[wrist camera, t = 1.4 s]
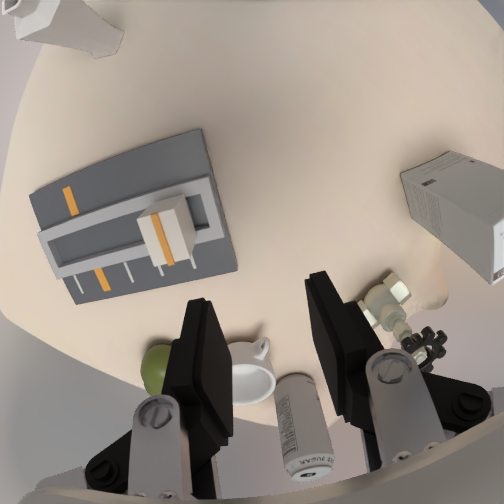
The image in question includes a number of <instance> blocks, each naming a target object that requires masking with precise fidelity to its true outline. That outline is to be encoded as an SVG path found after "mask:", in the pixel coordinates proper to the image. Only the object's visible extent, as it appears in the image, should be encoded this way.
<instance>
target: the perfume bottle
mask: <svg viewBox="0 0 504 504" xmlns="http://www.w3.org/2000/svg"><path fill="white" fill-rule="evenodd" d="M5 14H10V15H13V16H14V21H15V32H16V39H19V40H26V41H34V42H40V43H46V44H52V45H58V46H63V47H68V48H73V49H78V50H82V51H87V52H90V54H91V55H92V56H93V58H100V57H104V56H109V55H113V54H115V53H116V52H117V50H118V47H119V45H120V42H121V40H122V37H123V35H124V31H122V30H120V29H118V28H116V27H114V26H112V25H109V24H108V23H107V22H106V21H105V20H104V19H103V18H102V17H100V16H99V15H98V14H97V13H96V12H95V11H94V10H93V9H92V8H90V7H89V6H88V5H87V4H86V3H85V2H84V1H83V0H3V1H2V15H5Z"/></svg>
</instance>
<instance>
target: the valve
mask: <svg viewBox="0 0 504 504" xmlns="http://www.w3.org/2000/svg"><path fill="white" fill-rule="evenodd" d="M383 282H384V283H383V284H379V285H376V286H374V287H373V288H371V289H370V290H369V291H368V293H367V294H366V296H365V298H364V301H362V300H360V301H359V302H358V305H359V307H360V308H361V310H362V312H363V313H364V315H365V317H366V318H367V320H368V322H369V323H370V325H371V327H372V328H373V329H374V328H376V327H377V326H378V325H379V324H381V326H382V327H383V329H384V330H385V331H388V332H391V331H393V335H394V337H395V338H396V340H397V342H400V343H401V349H402V350H404V351H406V352H408V353H409V354H411V355H412V356H413V358H414V359H415V360H416V362H417V364H419V363H421V362H422V361H423V360H424V359H425V358H426V355H427V358H426V359H425V360H424V361H423V362H422V363H421V364H419V365H418V367H419V369H420V371H424V372H427V373H430V372H431V371H432V370H433V368H434V367H433V365H432V362H433V361H434V360H435V359H436V358H442V357H443V356H444V355H445V354H446V350H445V348H444V347H443V346H442V345H443V344H444V343H445V342H446V341H447V336H446V334H445V333H444V332H443V331H442V330H440V331H437V334H438V336H437V338H435V339H434V337H435V333H434V331H433V330H432V329H431V328H430V327H429V326H427V327H425V328H424V329H423V330H422V331H421V333H422V335H423V338H421V336H420V335H419V334H418V333H414V334H412V329H411V328H410V326H409V325H408V324H407V323H406V322H405V320H406V313H405V311H404V310H403V309H402V307H401V306H399V305H400V304H401V305H402V304H404V303H405V302H406V301H407V300H408V299H409V298H410V297H411V293H410V291H409V290H408V289H407V287H406V286H405V285H404V284H403V282H402V281H401V280H400V279H399V278H398V276H397V275H396V274H395V273H393V272H392V273H391V274H390V275H389V276H388V277H386V278H385V279H384V280H383ZM427 345H431V346H432V350H431V349H430V348H428V347H427Z"/></svg>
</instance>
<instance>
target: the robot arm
mask: <svg viewBox="0 0 504 504" xmlns="http://www.w3.org/2000/svg"><path fill="white" fill-rule="evenodd" d="M305 287H306V294H307V300H308V307H309V314H310V321H311V329H312V336H313V341H314V345H315V348H316V351H317V354H318V357H319V360H320V363H321V367H322V370H323V373H324V376H325V379H326V382H327V385H328V389H329V392H330V395H331V398H332V401H333V405H334V408H335V411H336V414H337V416H340V415H343V416H344V420H345V423H347V422H350V423H351V425H353V426H355V427H358V428H360V431H361V436H362V442H363V448H364V455H365V461H366V467H367V473H366V474H363V475H360V476H357V477H353V478H350V479H346V480H343V481H339V482H335V483H331V484H327V485H323V486H319V487H314V488H309V489H304V490H299V491H293V492H288V493H281V494H274V495H266V496H258V497H248V498H235V499H222V495H221V489H220V482H219V476H218V469H217V462H216V456H215V454H216V453H217V452H218V451H219V450H220V446H228V437H232V436H233V385H232V357H231V354H230V351H229V348H228V346H227V343H226V340H225V338H224V335H223V332H222V330H221V327H220V324H219V322H218V319H217V316H216V313H215V311H214V308H213V305H212V303H211V301H210V300H209V301H206V300H205V299H204V298H199V299H194V300H189V301H188V303H187V308H186V312H185V317H184V321H183V326H182V331H181V335H180V338H179V339H174V340H173V342H172V346H171V350H170V355H169V359H168V363H167V368H166V373H165V377H164V382H163V387H162V391H161V395H155V396H151V397H149V398H147V399H145V400H144V401H143V402H142V403H141V404H139V406H138V407H137V409H136V410H135V413H134V417H133V426H132V430H130V431H129V432H128V433H126V434H125V435H123V436H122V437H121V438H119V439H118V440H117V441H115V442H114V443H113V444H111V445H110V446H108V447H107V448H106V449H104V450H103V451H101V452H100V453H99V454H97V455H96V456H94V457H93V458H92V459H91V460H90V461H89V463H88V464H87V466H86V468H83V467H82V466H81V467H78V468H75V469H73V470H70V471H67V472H64V473H61V474H58V475H55V476H51V477H48V478H45V479H43V480H41V481H40V482H39V483H38V484H37V486H36V488H35V490H34V491H32V492H29V493H28V494H26V495H25V496H23V498H22V499H21V500H20V502H19V503H18V504H504V387H501V388H500V387H499V388H492V389H491V391H486V390H485V389H484V388H482V387H481V386H478V385H476V384H472V383H468V382H463V381H459V380H455V379H451V378H447V377H443V376H439V375H435V374H431V373H427V372H424V371H420V369H419V367H418V365H417V362H416V360H415V359H414V358H413V356H412V355H411V354H409V353H408V352H406V351H404V350H401V349H394V348H391V349H384V347H383V346H382V344H381V342H380V340H379V339H378V337H377V335H376V334H375V332H374V330H373V328H372V327H371V325H370V323H369V322H368V320H367V318H366V317H365V315H364V313H363V312H362V310H361V308H360V307H359V305H358V303H357V302H356V301H351V302H347V303H343V302H342V300H341V298H340V296H339V294H338V292H337V291H336V289H335V287H334V285H333V283H332V282H331V280H330V278H329V276H328V275H327V273H326V271H321V272H317V273H312V274H310V278H309V279H305Z"/></svg>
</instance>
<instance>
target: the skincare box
mask: <svg viewBox="0 0 504 504" xmlns="http://www.w3.org/2000/svg"><path fill="white" fill-rule="evenodd" d="M401 178H402V182H403V186H404V189H405V193H406V197H407V201H408V206H409V210H410V214H411V218H412V219H413V220H414V221H416V222H417V223H418V224H420V225H421V226H422V227H424V228H425V229H426V230H427V231H429V232H430V233H431V234H432V235H434V236H435V237H436V238H437V239H439V240H440V241H441V242H442V243H444V244H445V245H446V246H447V247H448V248H450V249H451V250H452V251H453V252H454V253H455V254H457V255H458V256H459V257H460V258H461V259H462V260H464V261H465V262H466V263H467V264H468V265H469V266H470V267H471V268H473V269H474V270H475V271H476V272H477V273H478V274H479V275H480V276H481V277H482V278H483V279H484V280H485V281H487V282H488V283H489V284H490V285H491V286H493V285H494V284H495V283H497V282H498V281H500V280H501V279H503V278H504V170H502V169H500V168H497V167H495V166H492V165H490V164H487V163H485V162H482V161H479V160H476V159H473V158H471V157H468V156H465V155H462V154H459V153H456V152H453V151H449V152H448V153H446V154H444V155H443V156H441V157H438V158H436V159H434V160H432V161H430V162H428V163H426V164H423V165H421V166H418V167H416V168H413V169H411V170H408V171H405V172H403V173H401Z"/></svg>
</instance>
